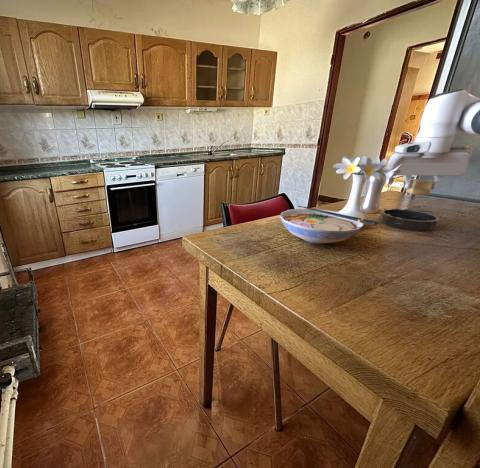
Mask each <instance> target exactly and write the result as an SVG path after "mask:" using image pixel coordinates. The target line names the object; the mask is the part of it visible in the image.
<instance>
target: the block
mask: <svg viewBox="0 0 480 468" xmlns="http://www.w3.org/2000/svg"><path fill="white" fill-rule="evenodd" d="M409 181H410V183H412V184H413V186H412V188H411V189H406V191H405V192H406V193H408V194H410V195H415V196H416V195H417V196H419V195H420V196H429V195H430V192H431V190H432V189H431V186H432V183H433V180H430V179H423V178H419V179H418V178H411V179H409Z"/></svg>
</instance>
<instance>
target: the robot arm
mask: <svg viewBox="0 0 480 468" xmlns="http://www.w3.org/2000/svg"><path fill="white" fill-rule="evenodd" d="M456 134H458V135H459V134H460V135H466V136H467V135H468V136H470V135H471V136H480V97H477V96H475V95H473V94H471V93H469V92H468V91H467V90H466V89H465V88H464V89H463V88H458V89H453V90H448V91H445V92H440V93H436V94H434V95H433V96H432V97H430V98H429V99H428V101H427V103H426V105H425V107H424V110H423V113H422V115H421V119H420V121H419V131H418V133H417V134H416V136H415V139H414V141H410V142H406V143H403V144H399V145H396V146H395V147H394V152H395V153H393V154H392V155H391V156H390V157H389V159H388V161H387V164H386V167H385V168H388V169H390V170H391V171H392V170H393V169H395V168H397V167H398V166H400V165H401V164H402V165H401V167H400V168H399V169H401V171H400V173H399V174H397V175H396V176H403V178H402V179H403V181H404V183H405V184H404V189H406V190H407V189H411V188H412V186H413V184H412V183H410V179H412V177H413V176H416V177H417V176H423V177H424V176H425V177H426V176H427V177H428V176H429V177H430V176H431V177H432V178H433V180H432V181H433V183H432V186H431V189H430V190H434V189H435V186H436V185H437V184H438V183H439V182H440V181H442V179H443V177H462V176H464V175H465V174H467V172H468V168H469V164H470V159H471V157H472V155H473V149H472V147H469V146H468V145H461V146H460V145H453V142H454V139H455V136H456ZM399 169H398V170H399Z"/></svg>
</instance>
